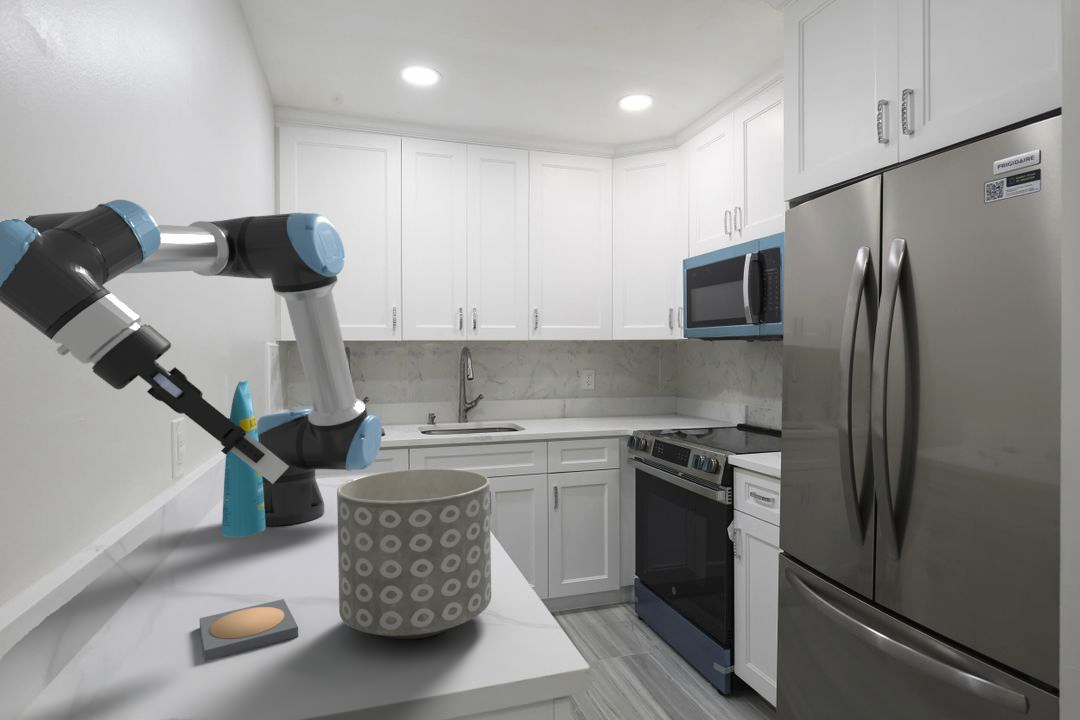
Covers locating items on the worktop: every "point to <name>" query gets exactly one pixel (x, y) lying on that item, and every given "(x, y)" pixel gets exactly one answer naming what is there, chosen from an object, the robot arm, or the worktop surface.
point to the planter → (413, 551)
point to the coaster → (246, 629)
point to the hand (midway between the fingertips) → (275, 470)
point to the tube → (242, 476)
